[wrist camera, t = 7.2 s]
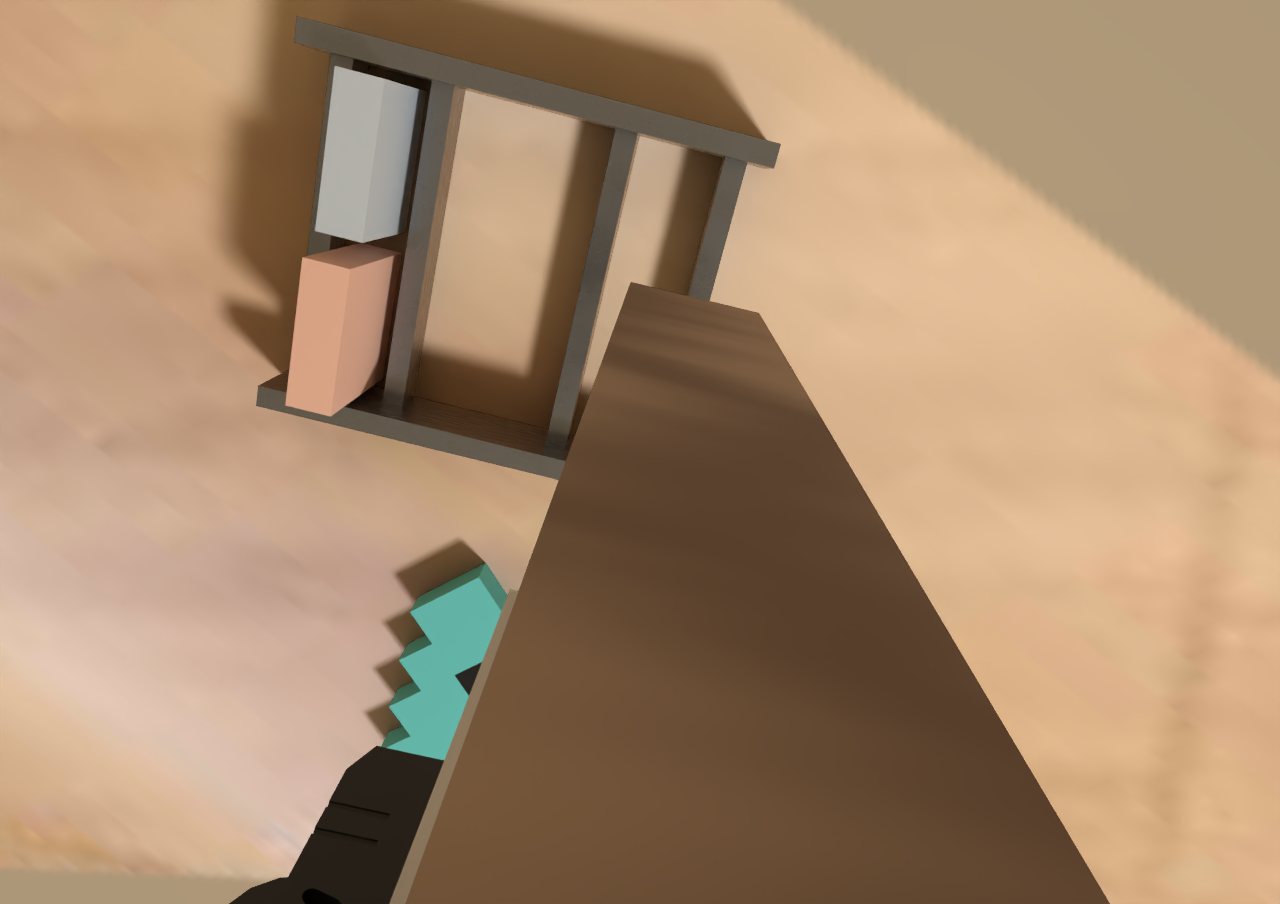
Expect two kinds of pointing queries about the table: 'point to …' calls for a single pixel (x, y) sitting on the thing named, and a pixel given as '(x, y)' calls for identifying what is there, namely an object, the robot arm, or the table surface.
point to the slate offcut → (368, 156)
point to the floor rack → (396, 404)
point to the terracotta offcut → (341, 326)
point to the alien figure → (444, 661)
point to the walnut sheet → (730, 671)
